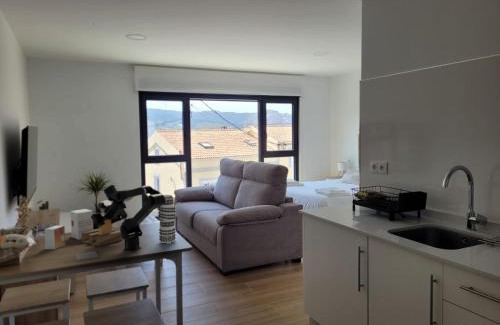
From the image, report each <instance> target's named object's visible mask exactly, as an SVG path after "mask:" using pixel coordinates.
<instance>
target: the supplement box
mask: <svg viewBox="0 0 500 325" xmlns="http://www.w3.org/2000/svg"><path fill="white" fill-rule="evenodd" d="M93 212H94V211H93V210H90V209H87V208H83V209H76V210H70V227H71V228H70V231H71V238H74V239H76V240H78V241H79V240H82V232H87V231H91V230H94V222H93V220H92V218H91V216H92V214H94V213H93Z"/></svg>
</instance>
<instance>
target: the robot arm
mask: <svg viewBox="0 0 500 325" xmlns="http://www.w3.org/2000/svg"><path fill="white" fill-rule="evenodd" d="M103 193H104V195H105V196H106V198H107V199H106V200H102V201H99V202H98V203H97V207H98V208H99V209H101V210H103V213H104V214H103V215H104V216H102V214H101V213H100V212H94V213H93V214H92V216H91V218H92V220H93V225H95V226H97V227H98V228H97V229H99V228H100V227H101V226H103V225H104V224H105V223H104V221H105V220H108V219H109V220H111V225H114V224H116V223H119V222H120V221H122V222H121V225H120V227H119V231H120V232H121V236H122V240H123V241H124V248H123V251H129V252H136V251H138V250H141V249H142V246H140V237H142V236H143V231H142V229H141V223H142V222H144V221H145V220H146V219H147V218H148V216H149V215H150V214H151V213H153V211H154V210H158V208H159V207H161V206H162V205H164V204H165V197H164V196H163V195H164V194H162V192H160V191H159V190H157V189H155V188H153V187H152V186H151V185H149V184H147V185H141V186H140V187H136V188H132V189H122V190H118V189H117V188H116V187H115V185H114V184H110V185H109V186H107V187H106V188H104V189H103ZM139 196H142V201H143V202H144V205H143V206H142V207H141V208H140V209H139V210H138V211H137V212H136V213H135V214H134V216H133V217H129V218H128V216H129V215H128V213H127V211H126V210H125V209H127V205H126V202H128V201H131V200H132V199H133V198H135V197H139Z"/></svg>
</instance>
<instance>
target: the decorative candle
mask: <svg viewBox="0 0 500 325" xmlns="http://www.w3.org/2000/svg"><path fill="white" fill-rule="evenodd" d="M163 196H164V197H165V204H164V205H162V206H161V207H159V208H157V210H158V211H157V212H158V221H159V228H158V229H159V230H158V231H159V232H158V234H159V236H158V237H159V238H158V239H159V244H162V243H170V244H172V243H171V242H174V240H176V226H175V221H176V214H175V213H176V207H175V203H174V202H175V200H174V199H175V197H174V196H173V195H171V194H163ZM174 243H175V242H174Z"/></svg>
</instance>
